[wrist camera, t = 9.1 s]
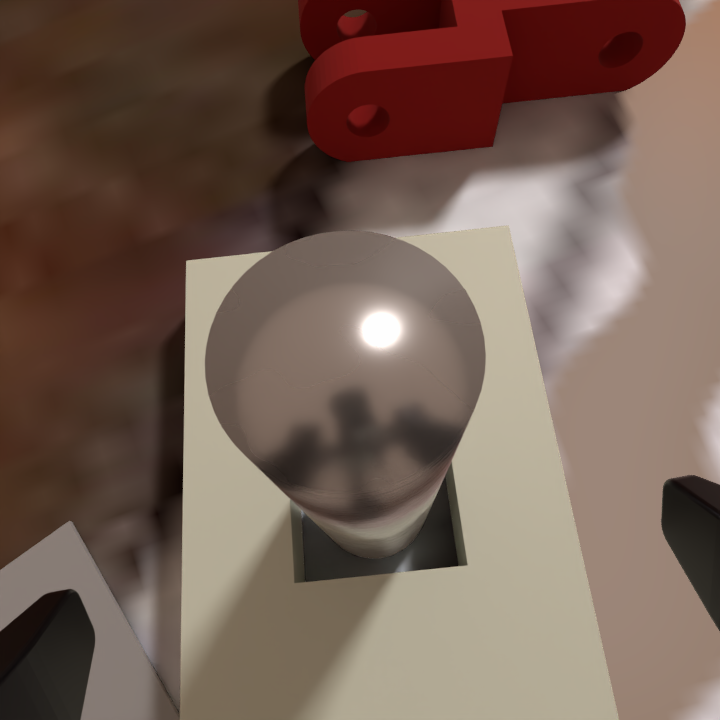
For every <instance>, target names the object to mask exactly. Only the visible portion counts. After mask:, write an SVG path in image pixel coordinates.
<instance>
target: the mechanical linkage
mask: <svg viewBox="0 0 720 720" xmlns="http://www.w3.org/2000/svg"><path fill="white" fill-rule="evenodd" d="M298 5H299V19H300V32H301V37H302V41H303V44H304V46H305V48H306V50H307V51H308V53H309V54H310V55H311V56H312V58H313V59H314V60H315V62H314V63H313V64H312V66H311V68H310V69H309V71H308V74H307V77H306V81H305V102H306V115H307V127H308V131H309V134H310V137H311V139H312V140H313V142H314V143H315V144H316V146H317V147H318V148H319V149H321V150H322V151H323V152H325V153H326V154H328V155H329V156H331V157H334V158H336V159H339V160H342V161H346V162H352V161H361V160H371V159H380V158H390V157H399V156H409V155H418V154H427V153H437V152H446V151H456V150H465V149H474V148H484V147H493V142H494V138H495V134H496V129H497V125H498V120H499V116H500V111H501V107H502V104H503V103H512V102H521V101H531V100H540V99H549V98H559V97H568V96H577V95H587V94H596V93H606V92H615V91H625V90H627V89H630V88H632V87H634V86H636V85H638V84H640V83H641V82H643V81H645V80H646V79H647V78H649V77H650V76H652V75H653V74H654V73H656V72H657V71H658V70H659V69H660V68H661V67H662V66H663V65H664V64H665V63H666V62H667V61H668V60H669V59H670V58H671V57H672V55H673V54H674V53H675V51H676V50H677V48H678V46H679V44H680V43H681V40H682V38H683V35H684V32H685V26H686V20H685V15H684V12H683V9H682V7H681V4H680V2H679V0H298ZM355 9H361V10H365V11H367V12H366V13H365V14H363V15H361V16H359V17H354V18H351V17H346V16H343V15H344V14H345V13H347V12H348V11H351V10H355Z"/></svg>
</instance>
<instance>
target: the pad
mask: <svg viewBox="0 0 720 720" xmlns="http://www.w3.org/2000/svg"><path fill="white" fill-rule="evenodd" d="M66 589H73V590H75V591H77V592H78V594H79V595H80V597H81V600H82V602H83V604H84V607H85V609H86V611H87V614H88V616H89V618H90V620H91V623H92V625H93V628H94V631H95V648H94V653H93V658H92V664H91V669H90V674H89V679H88V684H87V689H86V695H85V700H84V705H83V710H82V715H81V720H180V715H179V713H178V711H177V709H176V707H175V706H174V704H173V702H172V700H171V698H170V697H169V695H168V693H167V691H166V689H165V688H164V686H163V684H162V682H161V680H160V679H159V677H158V675H157V673H156V671H155V670H154V668H153V666H152V664H151V663H150V661H149V659H148V657H147V655H146V654H145V652H144V650H143V648H142V646H141V645H140V643H139V641H138V639H137V637H136V636H135V634H134V632H133V630H132V628H131V627H130V625H129V623H128V621H127V619H126V618H125V616H124V614H123V612H122V610H121V609H120V607H119V605H118V603H117V602H116V600H115V598H114V596H113V594H112V593H111V591H110V589H109V587H108V585H107V584H106V582H105V580H104V578H103V576H102V575H101V573H100V571H99V569H98V567H97V566H96V564H95V562H94V560H93V558H92V557H91V555H90V553H89V551H88V550H87V548H86V546H85V544H84V542H83V541H82V539H81V537H80V535H79V533H78V532H77V530H76V528H75V526H74V524H73V523H72V522H71V521H68V522H67V523H66V524H64V525H63V526H61V527H60V528H59V529H57V530H56V531H54V532H53V533H52V534H50V535H49V536H47V537H46V538H45V539H43V540H42V541H40V542H39V543H38V544H36V545H35V546H33V547H32V548H31V549H29V550H28V551H26V552H25V553H24V554H22V555H21V556H19V557H18V558H17V559H15V560H14V561H12V562H11V563H10V564H8V565H7V566H5V567H4V568H3V569H1V570H0V631H1V630H2V629H4V628H5V627H6V626H7V625H8V624H9V623H11V622H12V621H13V620H14V619H15V618H17V617H18V616H19V615H20V614H21V613H23V612H24V611H25V610H26V609H27V608H28V607H30V606H31V605H32V604H33V603H34V602H36V601H37V600H38V599H39V598H40V597H41V596H43V595H44V594H46V593H50V592H55V591H60V590H66Z"/></svg>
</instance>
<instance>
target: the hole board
mask: <svg viewBox="0 0 720 720" xmlns="http://www.w3.org/2000/svg"><path fill="white" fill-rule="evenodd" d="M397 239H400V240H403V241H405V242H407V243H409V244H412V245H414V246H416V247H418V248H420V249H421V250H423V251H425V252H426V253H428V254H429V255H431V256H433V257H434V258H435V259H436V260H438V261H439V262H440V263H441V264H443V265H444V266H445V267H446V268H447V269H448V270H449V271H450V272H451V273H452V274H453V275H454V276H455V277H456V278H457V280H458V281H459V282H460V284H461V285H462V286H463V288H464V289H465V290H466V292H467V294H468V295H469V297H470V299H471V301H472V303H473V304H474V306H475V309H476V311H477V314H478V317H479V319H480V322H481V326H482V330H483V335H484V340H485V351H486V362H485V375H484V380H483V385H482V390H481V393H480V396H479V398H478V401H477V404H476V407H475V409H474V412H473V414H472V416H471V418H470V421H469V423H468V425H467V427H466V430H465V432H464V434H463V436H462V439H461V441H460V443H459V445H458V448H457V450H456V452H455V454H454V457H453V459H452V461H451V464H450V466H449V468H448V470H447V473H446V475H445V478H446V485H447V492H448V498H449V505H450V512H451V518H452V525H453V532H454V539H455V545H456V552H457V559H458V565H459V566H457V567H447V568H437V569H428V570H418V571H408V572H399V573H389V574H379V575H370V576H360V577H351V578H341V579H331V580H322V581H312V582H305V567H304V550H303V533H302V515H301V509H300V508H299V507H298V506H297V505H296V504H295V503H294V502H293V501H292V500H291V499H290V498H289V497H288V496H287V495H285V494H284V493H283V492H282V491H281V490H280V489H279V488H278V487H277V486H276V485H275V484H274V483H273V482H272V481H271V480H270V479H269V478H268V477H267V476H266V475H265V474H264V473H263V472H262V471H261V470H259V469H258V468H257V467H256V466H255V465H254V464H253V463H252V462H251V461H250V460H249V459H248V458H247V457H246V456H245V455H244V454H243V453H242V452H241V451H240V450H239V449H238V448H237V447H236V446H235V444H234V443H233V442H232V441H231V440H230V438H229V437H228V435H227V434H226V432H225V431H224V430H223V428H222V426H221V424H220V423H219V421H218V419H217V417H216V415H215V413H214V410H213V407H212V404H211V401H210V398H209V395H208V390H207V384H206V379H205V354H206V344H207V340H208V336H209V332H210V328H211V325H212V323H213V320H214V317H215V315H216V312H217V311H218V309H219V307H220V305H221V303H222V301H223V299H224V298H225V296H226V295H227V293H228V292H229V291H230V289H231V288H232V287H233V285H234V284H235V283H236V282H237V281H238V280H239V278H240V277H241V276H242V275H243V274H244V273H245V272H246V271H247V270H248V269H249V268H251V267H252V266H253V265H254V264H255V263H257V262H258V261H259V260H260V259H262V258H263V257H265V256H266V255H268V254H269V253H271V252H272V251H271V252H262V253H253V254H244V255H235V256H226V257H217V258H208V259H198V260H189V261H186V316H185V385H184V454H183V523H182V592H181V661H180V720H619V718H618V713H617V709H616V704H615V700H614V696H613V691H612V686H611V682H610V678H609V674H608V669H607V664H606V660H605V655H604V651H603V646H602V642H601V638H600V633H599V629H598V624H597V619H596V615H595V611H594V606H593V601H592V597H591V593H590V588H589V584H588V579H587V575H586V570H585V566H584V562H583V557H582V553H581V548H580V544H579V539H578V534H577V530H576V525H575V521H574V517H573V512H572V507H571V503H570V499H569V494H568V489H567V485H566V480H565V476H564V472H563V467H562V463H561V458H560V454H559V449H558V445H557V440H556V436H555V431H554V427H553V422H552V418H551V413H550V409H549V404H548V400H547V395H546V391H545V386H544V382H543V378H542V373H541V369H540V364H539V360H538V355H537V351H536V346H535V342H534V337H533V333H532V328H531V324H530V319H529V315H528V310H527V306H526V301H525V297H524V292H523V288H522V284H521V279H520V275H519V270H518V266H517V261H516V257H515V252H514V248H513V243H512V239H511V234H510V230H509V226H499V227H490V228H481V229H472V230H463V231H454V232H445V233H436V234H426V235H417V236H408V237H399V238H397Z"/></svg>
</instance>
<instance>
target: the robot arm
mask: <svg viewBox="0 0 720 720" xmlns="http://www.w3.org/2000/svg"><path fill="white" fill-rule="evenodd" d="M661 523H662V524H661V525H662V530H663V534H664V536H665V539H666V540H667V542H668V544H669V546H670V547H671V549H672V551H673V553H674V554H675V556H676V558H677V560H678V561H679V563H680V565H681V566H682V568H683V570H684V571H685V573H686V575H687V577H688V579H689V580H690V582H691V584H692V585H693V587H694V589H695V591H696V592H697V594H698V596H699V598H700V599H701V601H702V602H703V604H704V606H705V608H706V610H707V611H708V613H709V615H710V616H711V618H712V620H713V621H714V623H715V624H716V626H717V628H718V629H719V631H720V485H719V484H716V483H714V482H711V481H708V480H706V479H703V478H701V477H698V476H695V475H687V476H682V477H677V478H671V479H668V480H667V481H666V482H665V483H664V486H663V498H662V519H661ZM94 648H95V631H94V628H93V625H92V623H91V620H90V618H89V616H88V614H87V611H86V609H85V607H84V604H83V602H82V600H81V597H80V595H79V594H78V592H77V591H75V590H73V589H66V590H60V591H55V592H50V593H46V594H44V595H43V596H41V597H40V598H39V599H38V600H37V601H36V602H34V603H33V604H32V605H31V606H30V607H28V608H27V609H26V610H25V611H24V612H23V613H21V614H20V615H19V616H18V617H17V618H15V619H14V620H13V621H12V622H11V623H9V624H8V625H7V626H6V627H5V628H4V629H2V630H1V631H0V720H81V715H82V710H83V705H84V700H85V695H86V689H87V684H88V679H89V674H90V669H91V664H92V658H93V653H94Z"/></svg>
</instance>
